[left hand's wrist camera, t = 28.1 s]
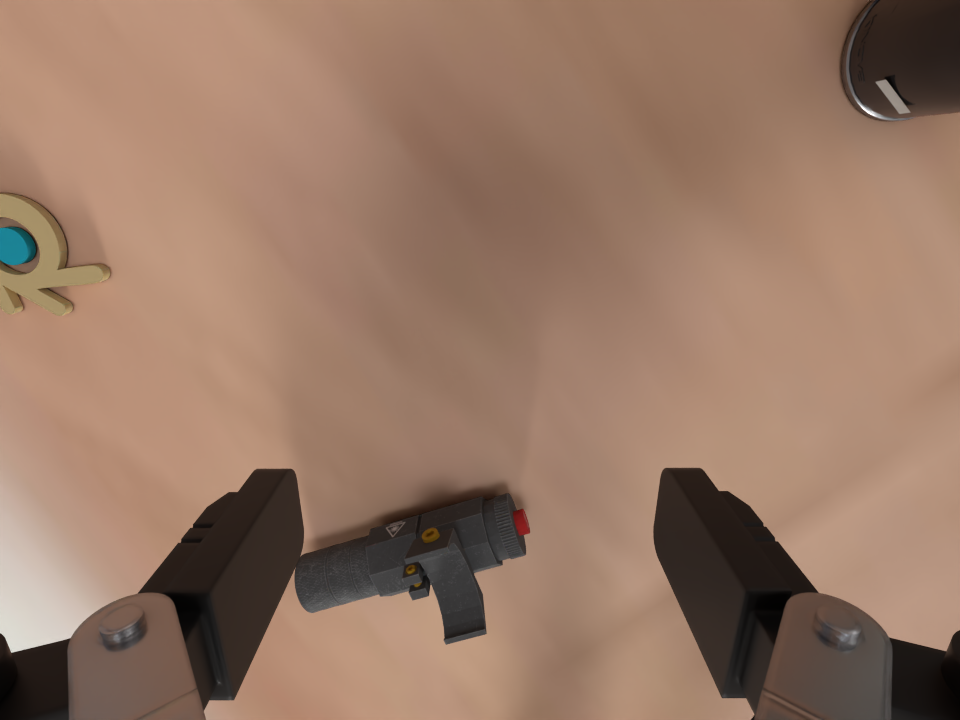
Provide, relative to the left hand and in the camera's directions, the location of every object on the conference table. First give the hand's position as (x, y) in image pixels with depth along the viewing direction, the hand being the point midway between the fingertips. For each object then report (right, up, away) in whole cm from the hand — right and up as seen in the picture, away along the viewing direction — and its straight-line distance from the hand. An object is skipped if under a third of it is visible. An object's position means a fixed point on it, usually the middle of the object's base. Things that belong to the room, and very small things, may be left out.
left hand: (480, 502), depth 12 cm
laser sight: (-6, -14, +42) cm, 45 cm away
